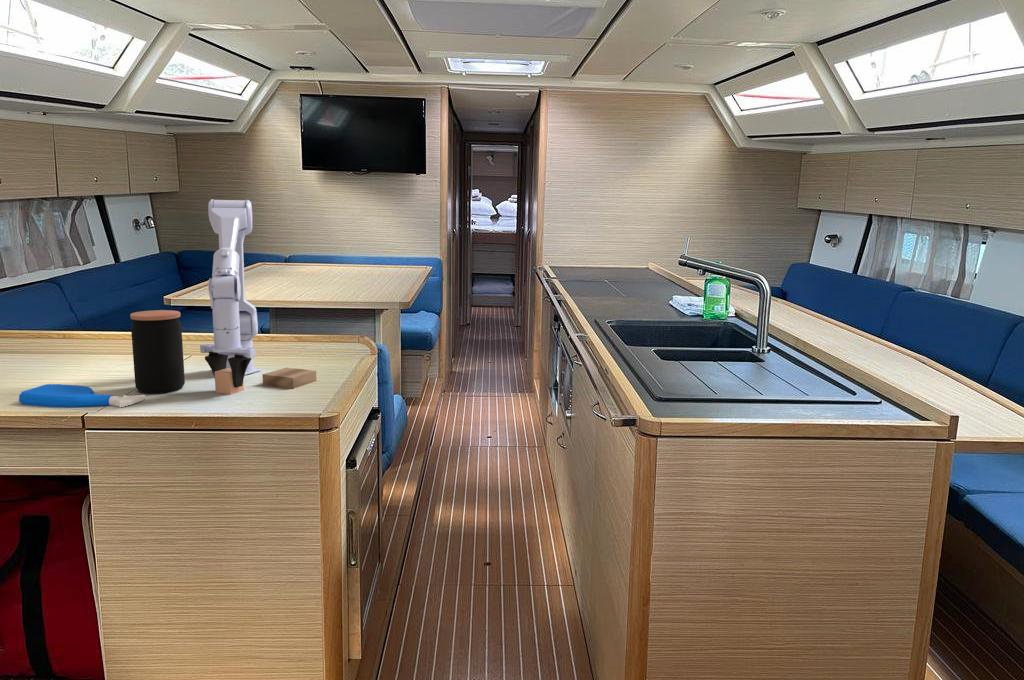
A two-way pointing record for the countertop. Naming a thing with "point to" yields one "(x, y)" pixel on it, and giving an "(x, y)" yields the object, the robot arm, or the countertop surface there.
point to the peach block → (226, 382)
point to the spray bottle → (73, 397)
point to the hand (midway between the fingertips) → (229, 385)
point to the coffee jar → (157, 351)
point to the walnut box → (289, 378)
